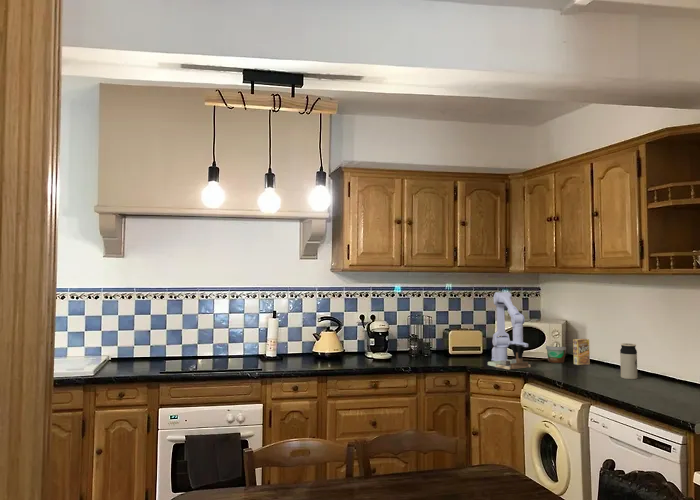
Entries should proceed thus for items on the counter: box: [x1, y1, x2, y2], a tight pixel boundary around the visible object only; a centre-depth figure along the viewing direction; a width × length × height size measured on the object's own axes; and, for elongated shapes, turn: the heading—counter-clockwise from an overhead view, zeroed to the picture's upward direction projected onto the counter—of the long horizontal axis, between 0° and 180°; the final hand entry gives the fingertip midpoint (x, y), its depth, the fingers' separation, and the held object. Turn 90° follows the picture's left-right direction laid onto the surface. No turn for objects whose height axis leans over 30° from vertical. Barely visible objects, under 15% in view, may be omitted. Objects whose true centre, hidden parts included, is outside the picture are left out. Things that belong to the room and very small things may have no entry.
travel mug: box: [619, 342, 638, 380], centre depth 300 cm, size 8×8×18 cm
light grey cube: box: [500, 359, 511, 368], centre depth 335 cm, size 4×4×4 cm
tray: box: [487, 359, 512, 368], centre depth 343 cm, size 7×17×2 cm, turn 118°
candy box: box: [572, 338, 591, 366], centre depth 343 cm, size 9×4×15 cm, turn 108°
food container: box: [545, 345, 567, 364], centre depth 351 cm, size 12×6×10 cm, turn 62°
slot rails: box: [495, 363, 531, 370], centre depth 335 cm, size 11×17×2 cm, turn 118°
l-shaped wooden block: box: [510, 352, 529, 370], centre depth 332 cm, size 2×12×9 cm, turn 118°
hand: (518, 358), depth 331 cm, fingers closed on l-shaped wooden block, 2 cm apart
